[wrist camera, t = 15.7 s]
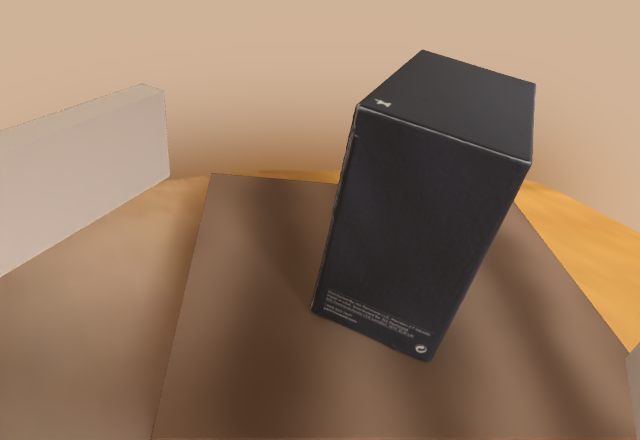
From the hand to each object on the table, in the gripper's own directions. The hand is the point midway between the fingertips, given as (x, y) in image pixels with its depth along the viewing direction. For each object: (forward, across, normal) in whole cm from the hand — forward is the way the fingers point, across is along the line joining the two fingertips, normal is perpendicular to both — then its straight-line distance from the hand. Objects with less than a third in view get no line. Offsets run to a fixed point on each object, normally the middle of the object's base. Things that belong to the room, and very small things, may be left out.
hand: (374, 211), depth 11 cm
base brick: (+10, 0, -14) cm, 17 cm away
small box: (+10, 0, -10) cm, 14 cm away
